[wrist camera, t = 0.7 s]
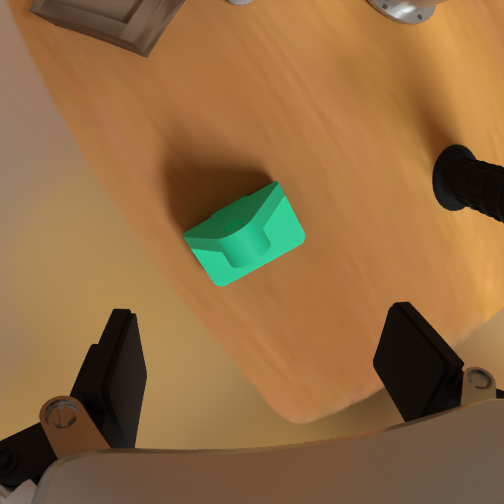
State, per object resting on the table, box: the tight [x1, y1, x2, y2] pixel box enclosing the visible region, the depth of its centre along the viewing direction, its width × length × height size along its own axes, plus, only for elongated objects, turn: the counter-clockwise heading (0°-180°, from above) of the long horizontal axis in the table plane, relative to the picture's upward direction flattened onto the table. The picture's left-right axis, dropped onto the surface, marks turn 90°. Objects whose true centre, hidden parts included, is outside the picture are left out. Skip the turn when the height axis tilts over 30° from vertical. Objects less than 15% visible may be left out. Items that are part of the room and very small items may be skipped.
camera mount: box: [183, 181, 305, 286], centre depth 34 cm, size 12×8×10 cm, turn 119°
